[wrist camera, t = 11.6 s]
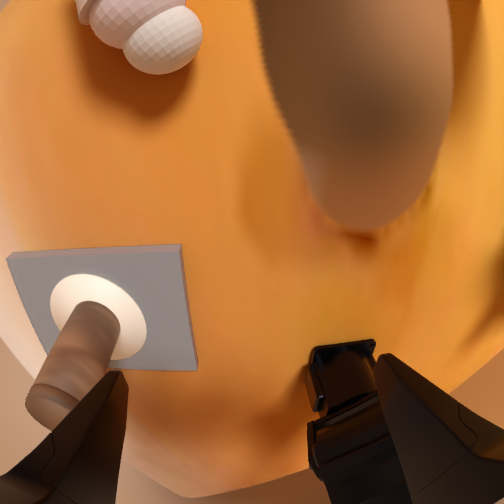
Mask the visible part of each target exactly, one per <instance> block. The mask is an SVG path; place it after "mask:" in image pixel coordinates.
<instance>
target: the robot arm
mask: <svg viewBox="0 0 504 504" xmlns="http://www.w3.org/2000/svg"><path fill="white" fill-rule="evenodd" d="M375 346H376V342H375V340H374V339H367V340H361V341H354V342H347V343H339V344H331V345H323V346H317V347H315V348H314V349H313V353H312V359H311V364H309V366H308V367H307V372H306V377H305V385H306V388H307V392H308V396H309V399H310V403H311V407H312V410H313V411H314V412H319V415H320V418H319V419H317V420H315V421H311V422H308V423H307V441H308V461H309V467H310V469H311V470H313V471H314V472H315V474H316V476H317V477H318V478H319V479H320V480H321V481H322V482H324V484H325V486H326V489H327V491H328V494H329V498H330V501H331V503H332V504H504V430H503V429H502V428H500V427H498V426H496V425H494V424H493V423H491V422H489V421H488V420H486V419H484V418H482V417H480V416H479V415H477V414H476V413H474V412H472V411H471V410H470V409H468V408H467V407H465V406H464V405H462V404H461V403H459V402H457V400H455V399H454V398H452V397H451V396H450V395H448V394H447V393H446V392H444V391H443V390H441V389H440V388H439V387H437V386H436V385H434V384H433V383H432V382H430V381H429V380H427V379H426V378H425V377H423V376H422V375H420V374H419V373H418V372H416V371H415V370H413V369H412V368H411V367H409V366H408V365H406V364H405V363H404V362H402V361H401V360H400V359H398V358H397V357H395V356H394V355H393V354H391V353H386V354H381V355H380V356H379V357H378V360H377V362H376V361H375V359H374V357H373V355H372V354H373V351H374V348H375ZM128 391H129V389H128V384H127V382H126V380H125V378H124V375H123V373H122V372H121V371H120V370H109V371H108V372H107V373H106V374H105V375H104V376H103V377H102V378H101V379H100V380H99V381H98V383H97V384H96V385H95V386H94V387H93V388H92V389H91V390H90V391H89V392H88V393H87V394H86V395H85V396H84V397H83V398H82V399H81V400H80V401H79V403H78V404H77V405H76V406H75V407H74V408H73V409H72V410H71V411H70V412H69V413H68V414H67V415H66V416H65V417H64V419H63V420H62V421H61V422H60V423H59V424H58V425H57V426H56V427H55V428H54V429H53V430H52V433H49V435H48V436H47V437H46V438H45V439H44V440H43V441H42V442H41V443H40V444H39V445H38V446H37V447H36V448H35V449H34V450H33V451H32V452H31V453H30V454H28V455H27V456H26V457H25V458H24V459H23V460H21V461H20V462H19V463H18V464H17V465H16V466H14V467H13V468H12V469H11V470H10V471H8V472H7V473H5V474H4V475H2V476H0V504H115V501H116V492H117V483H118V476H119V469H120V462H121V455H122V449H123V443H124V437H125V430H126V420H127V404H128Z"/></svg>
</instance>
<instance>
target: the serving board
mask: <svg viewBox="0 0 504 504" xmlns="http://www.w3.org/2000/svg"><path fill="white" fill-rule="evenodd" d="M6 260H7V263H8V266H9V269H10V272H11V275H12V278H13V281H14V283H15V286H16V288H17V291H18V294H19V296H20V299H21V301H22V303H23V306H24V308H25V310H26V313H27V315H28V317H29V319H30V322H31V324H32V326H33V328H34V330H35V332H36V334H37V336H38V338H39V340H40V342H41V344H42V346H43V348H44V350H45V352H46V354H47V356H48V354H49V352H50V350H51V349H52V347H53V345H54V343H55V341H56V339H57V337H58V336H59V334H60V332H61V330H62V329H63V327H64V325H65V323H66V322H67V320H68V318H69V316H70V315H71V313H72V311H73V310H74V308H75V306H76V305H77V304H79V303H80V302H83V301H94V302H98V303H100V304H102V305H104V306H106V307H107V308H109V309H110V310H111V311H112V312H113V313H114V314H115V315H116V317H117V319H118V321H119V323H120V334H119V336H118V339H117V342H116V345H115V348H114V350H113V353H112V356H111V359H110V362H109V365H108V368H120V369H137V370H164V371H197V369H198V358H197V353H196V347H195V341H194V335H193V329H192V322H191V316H190V309H189V302H188V295H187V287H186V280H185V272H184V264H183V255H182V246H181V244H169V245H146V246H124V247H103V248H83V249H64V250H45V251H28V252H13V253H12V254H10V255H9V256H8V257H7V258H6Z"/></svg>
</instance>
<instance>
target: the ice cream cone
mask: <svg viewBox="0 0 504 504" xmlns="http://www.w3.org/2000/svg"><path fill="white" fill-rule="evenodd" d="M75 2H76V8H77V13H78V19H79V22H80V23H81V24H83V25H91V28H92V30H93V31H94V33H95V35H96V36H97V37H98V38H99V39H100V40H101V41H102V42H104V43H105V44H107V45H109V46H112V47H115V48H118V49H123V52H124V55H125V57H126V59H127V60H128V62H129V63H130V64H131V65H132V66H133V67H135V68H136V69H138V70H139V71H142V72H145V73H148V74H167V73H171V72H174V71H177V70H179V69H180V68H182V67H184V66H185V65H186V64H188V63H189V62H190V61H191V60H192V59H193V58H194V57H195V55H196V54H197V52H198V50H199V48H200V46H201V43H202V36H203V34H202V26H201V23H200V21H199V19H198V17H197V16H196V15H195V14H194V13H193V12H192V11H191V10H190V9H188V8H187V7H185V5H186V0H75Z"/></svg>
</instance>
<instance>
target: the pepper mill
mask: <svg viewBox="0 0 504 504" xmlns="http://www.w3.org/2000/svg"><path fill="white" fill-rule="evenodd" d="M119 334H120V323H119V321H118V319H117V317H116V315H115V314H114V313H113V312H112V311H111V310H110V309H109V308H107V307H106V306H104V305H102V304H100V303H98V302H94V301H83V302H80V303H79V304H77V305H76V306H75V308H74V310H73V311H72V313H71V315H70V316H69V318H68V320H67V322H66V323H65V325H64V327H63V329H62V330H61V332H60V334H59V336H58V337H57V339H56V341H55V343H54V345H53V347H52V349H51V350H50V352H49V354H48V356H47V358H46V360H45V362H44V364H43V366H42V368H41V370H40V372H39V374H38V376H37V378H36V380H35V382H34V384H33V386H32V387H31V389H30V391H29V393H28V396H27V398H26V402H25V406H26V408H27V410H28V412H29V413H30V414H31V416H33V418H34V419H35V420H37V421H38V422H39V423H40V424H41V425H43V426H44V427H46V428H48V429H49V430H51V431H52V430H53V429H54V428H55V427H56V426H57V425H58V424H59V423H60V422H61V421H62V420H63V419H64V417H65V416H66V415H67V414H68V413H69V412H70V411H71V410H72V409H73V408H74V407H75V406H76V405H77V404H78V403H79V401H80V400H81V399H82V398H83V397H84V396H85V395H86V394H87V393H88V392H89V391H90V390H91V389H92V388H93V387H94V386H95V385H96V384H97V383H98V381H99V380H100V379H101V378H102V377H103V376H104V375H105V374H106V371H107V368H108V365H109V362H110V359H111V356H112V353H113V350H114V348H115V345H116V342H117V339H118V336H119Z"/></svg>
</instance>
